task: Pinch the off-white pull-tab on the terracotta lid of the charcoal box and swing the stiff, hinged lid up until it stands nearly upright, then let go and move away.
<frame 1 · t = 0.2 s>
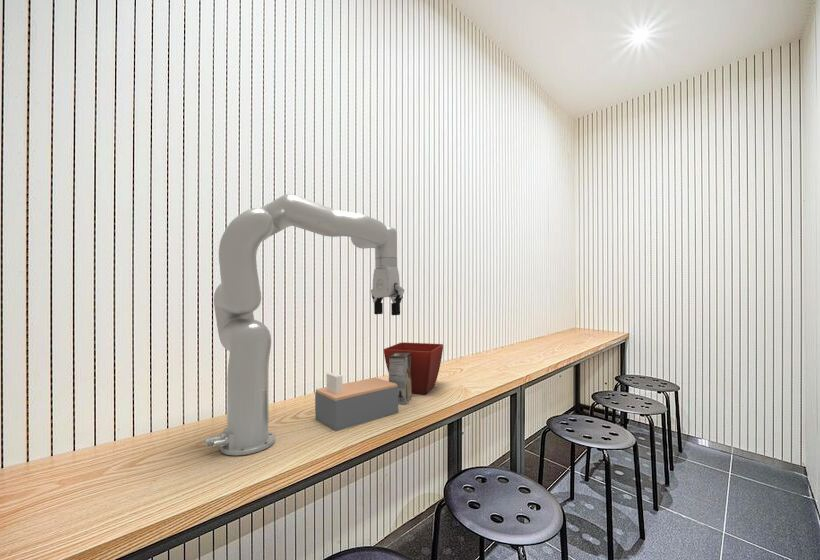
hand: (386, 314, 119), 31 cm above the bar counter, tool pointing down, fingers open, 9 cm apart
carton: (357, 415, 109), on the bar counter
coffee box: (400, 400, 125), on the bar counter
lid: (357, 379, 110), point 11 cm above the bar counter, hinge at 0.0°
plant pot: (415, 389, 139), on the bar counter
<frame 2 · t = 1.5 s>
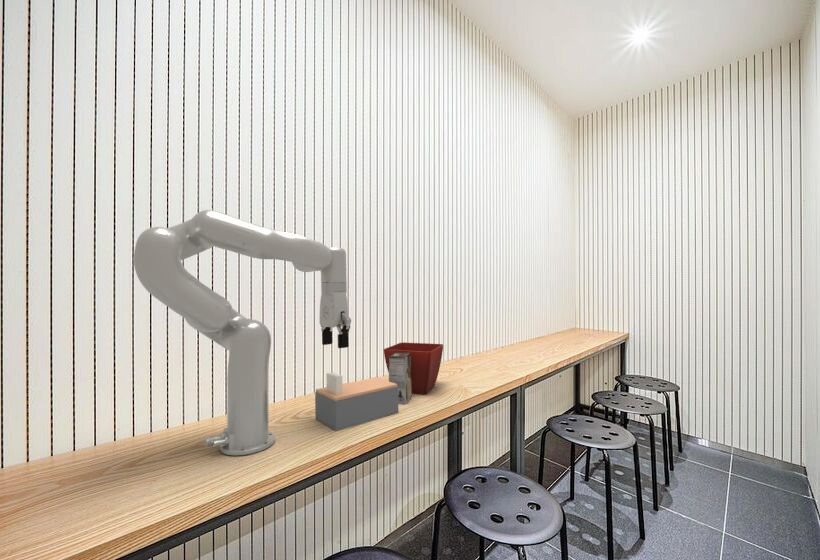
hand: (335, 345, 105), 22 cm above the bar counter, tool pointing down, fingers open, 9 cm apart
nothing on the bar counter moved.
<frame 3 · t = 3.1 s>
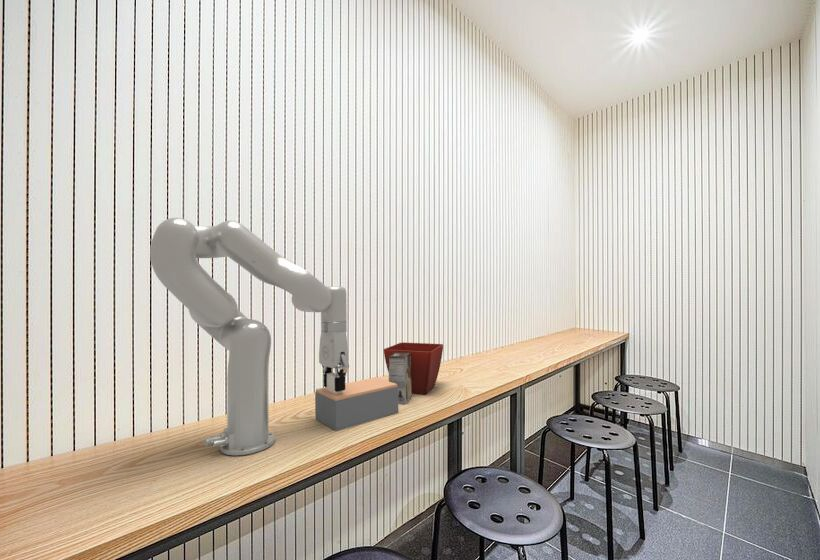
hand: (334, 387, 105), 10 cm above the bar counter, tool pointing down, fingers closed on lid, 6 cm apart
lid: (357, 379, 110), point 11 cm above the bar counter, hinge at 0.0°, touching gripper
everything else where it was.
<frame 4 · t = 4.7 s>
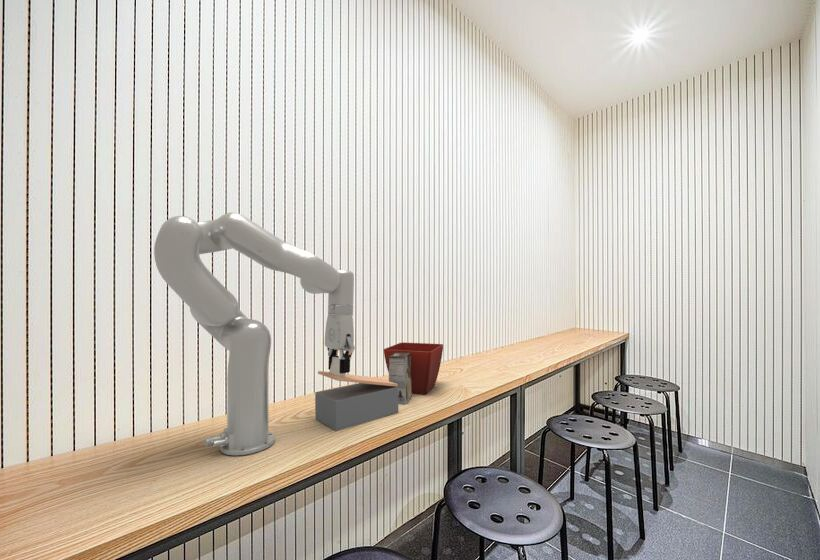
hand: (338, 370, 106), 15 cm above the bar counter, tool pointing down, fingers closed on lid, 6 cm apart
lid: (360, 370, 111), point 14 cm above the bar counter, hinge at 14.4°, touching gripper
everything else where it was.
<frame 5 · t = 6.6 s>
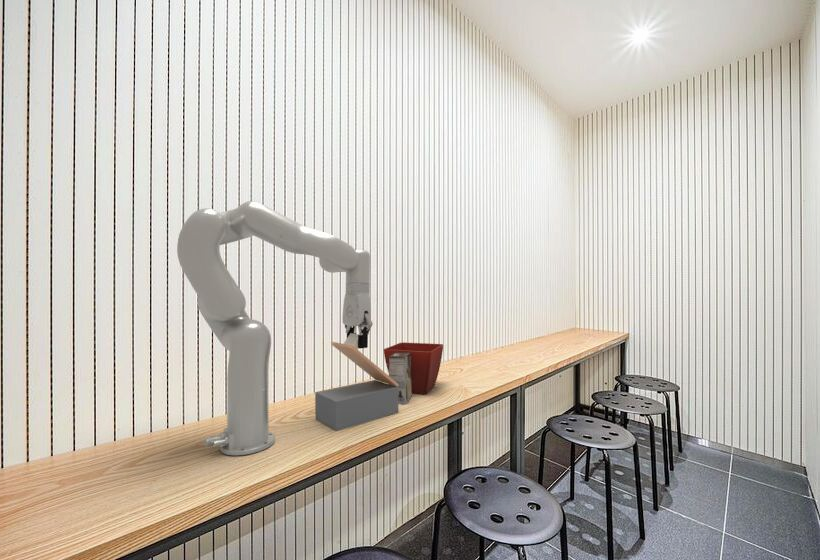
hand: (356, 346, 110), 21 cm above the bar counter, tool pointing down, fingers closed on lid, 6 cm apart
lid: (369, 357, 113), point 17 cm above the bar counter, hinge at 39.9°, touching gripper
everything else where it was.
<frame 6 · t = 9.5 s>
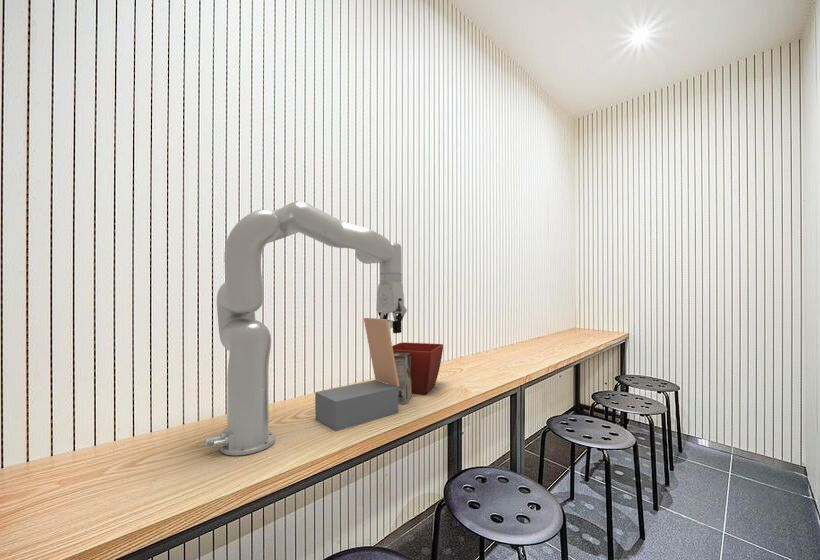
hand: (391, 331, 119), 25 cm above the bar counter, tool pointing down, fingers closed on lid, 6 cm apart
lid: (387, 348, 118), point 19 cm above the bar counter, hinge at 78.0°, touching gripper
everything else where it was.
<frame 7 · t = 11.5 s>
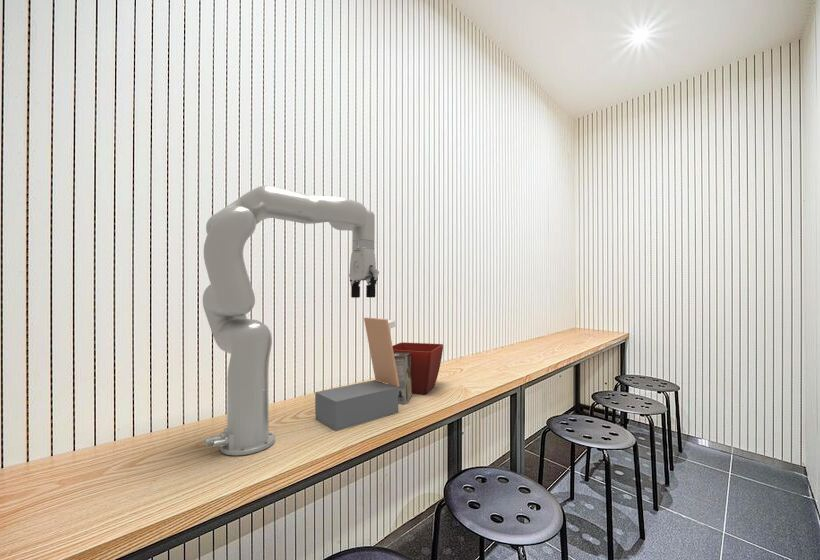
hand: (362, 297, 119), 37 cm above the bar counter, tool pointing down, fingers open, 9 cm apart
lid: (387, 348, 118), point 19 cm above the bar counter, hinge at 78.3°
everything else where it was.
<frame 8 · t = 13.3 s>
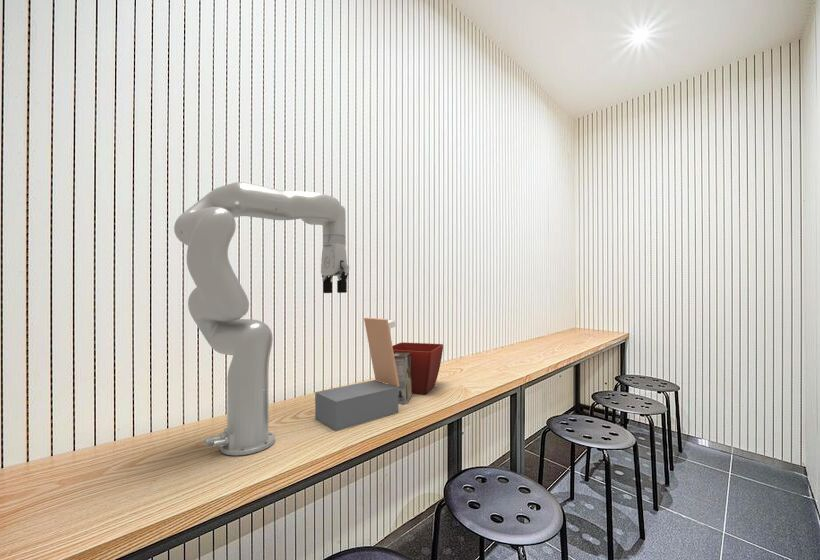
hand: (334, 292, 118), 38 cm above the bar counter, tool pointing down, fingers open, 9 cm apart
nothing on the bar counter moved.
at the end: lid at +78° (first picture: +0°); the gripper is holding nothing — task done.
